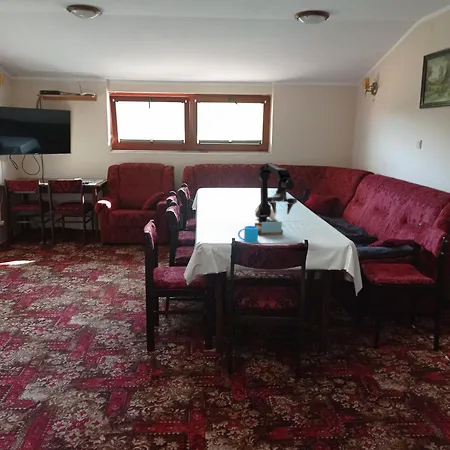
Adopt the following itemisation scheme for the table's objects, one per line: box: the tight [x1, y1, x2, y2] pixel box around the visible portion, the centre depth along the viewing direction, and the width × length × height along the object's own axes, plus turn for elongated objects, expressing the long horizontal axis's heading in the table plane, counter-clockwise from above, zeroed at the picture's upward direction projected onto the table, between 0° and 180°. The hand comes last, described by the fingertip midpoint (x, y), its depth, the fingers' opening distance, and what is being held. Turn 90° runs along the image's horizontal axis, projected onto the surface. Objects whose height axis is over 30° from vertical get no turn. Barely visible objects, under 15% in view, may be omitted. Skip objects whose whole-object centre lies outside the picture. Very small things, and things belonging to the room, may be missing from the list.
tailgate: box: [261, 221, 283, 233], centre depth 261 cm, size 1×14×7 cm, turn 105°
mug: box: [237, 225, 259, 243], centre depth 247 cm, size 12×8×8 cm
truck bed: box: [254, 222, 284, 236], centre depth 268 cm, size 12×16×6 cm
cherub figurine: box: [254, 204, 280, 222], centre depth 304 cm, size 13×12×20 cm
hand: (281, 213), depth 263 cm, fingers open, 9 cm apart
